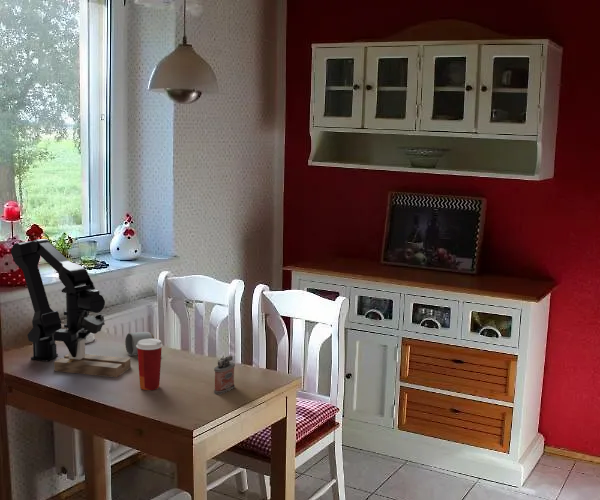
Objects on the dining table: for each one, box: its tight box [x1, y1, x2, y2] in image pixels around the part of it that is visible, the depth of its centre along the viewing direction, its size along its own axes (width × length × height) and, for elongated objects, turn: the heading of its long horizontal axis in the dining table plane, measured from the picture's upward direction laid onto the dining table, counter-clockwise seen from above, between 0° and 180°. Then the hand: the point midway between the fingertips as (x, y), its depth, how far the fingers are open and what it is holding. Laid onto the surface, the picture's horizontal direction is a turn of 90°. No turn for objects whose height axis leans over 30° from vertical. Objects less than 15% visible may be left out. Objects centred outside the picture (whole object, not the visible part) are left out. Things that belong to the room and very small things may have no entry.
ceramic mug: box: [124, 331, 155, 357], centre depth 254 cm, size 11×8×8 cm
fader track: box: [53, 353, 132, 378], centre depth 236 cm, size 21×10×3 cm, turn 78°
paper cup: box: [136, 338, 164, 391], centre depth 221 cm, size 8×8×14 cm
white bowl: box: [85, 333, 96, 344], centre depth 267 cm, size 10×10×4 cm
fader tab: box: [68, 338, 86, 360], centre depth 236 cm, size 4×3×8 cm
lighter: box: [213, 354, 236, 395], centre depth 220 cm, size 8×3×10 cm, turn 148°
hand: (76, 355), depth 237 cm, fingers closed on fader tab, 3 cm apart
